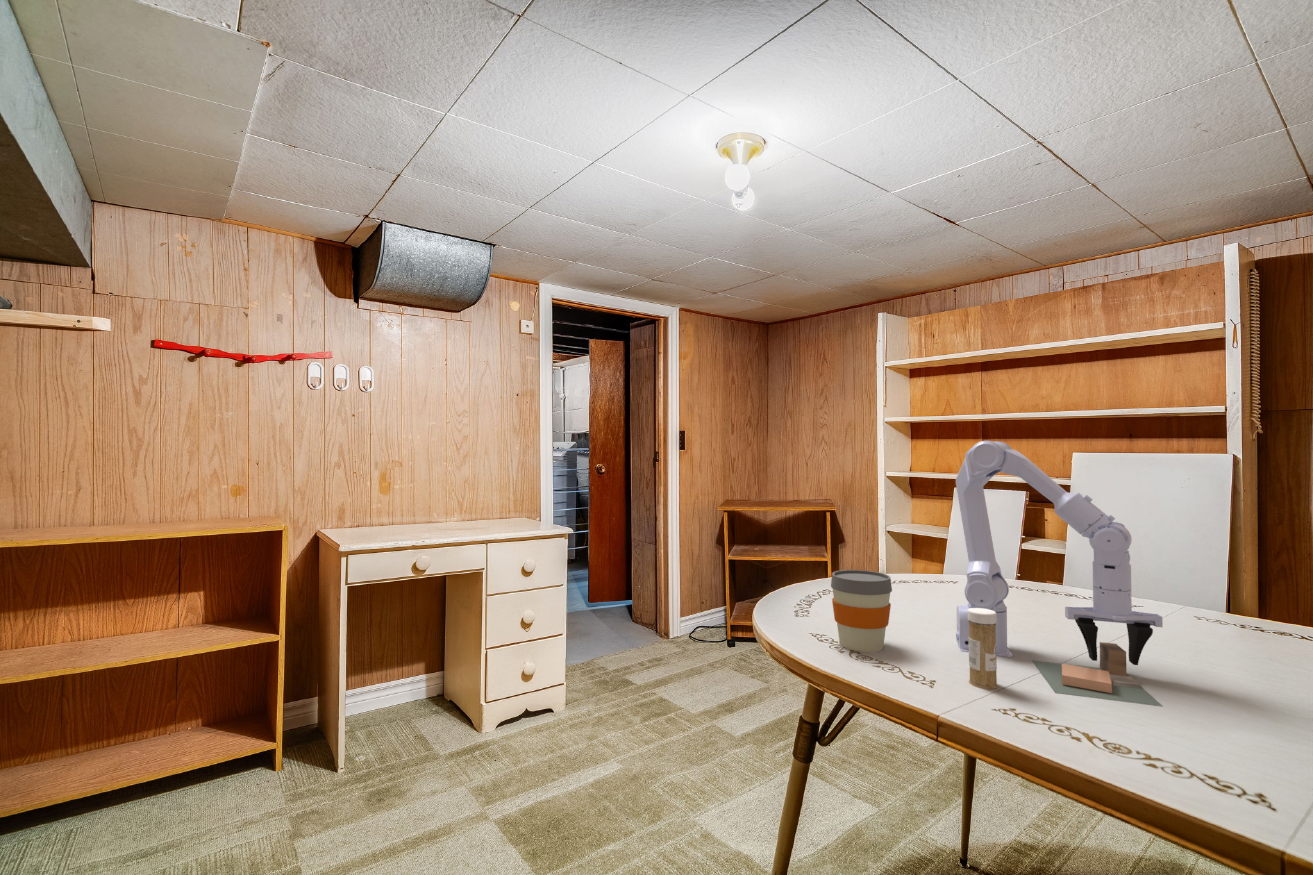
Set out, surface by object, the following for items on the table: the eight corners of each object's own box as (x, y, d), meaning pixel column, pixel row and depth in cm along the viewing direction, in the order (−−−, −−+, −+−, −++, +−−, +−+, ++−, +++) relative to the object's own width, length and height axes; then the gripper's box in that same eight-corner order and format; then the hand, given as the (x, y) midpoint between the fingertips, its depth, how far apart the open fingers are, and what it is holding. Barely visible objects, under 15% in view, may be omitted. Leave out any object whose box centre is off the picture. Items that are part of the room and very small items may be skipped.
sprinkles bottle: (1000, 692, 103) (999, 614, 103) (971, 689, 104) (970, 612, 104) (994, 682, 107) (993, 607, 107) (966, 679, 108) (965, 605, 109)
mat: (1055, 695, 102) (1055, 692, 102) (1031, 662, 117) (1031, 660, 117) (1163, 708, 96) (1163, 706, 96) (1123, 672, 112) (1123, 670, 112)
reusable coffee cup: (892, 658, 120) (891, 583, 120) (828, 650, 124) (827, 578, 125) (892, 640, 131) (892, 572, 132) (833, 633, 136) (833, 567, 136)
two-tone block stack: (1095, 667, 113) (1095, 641, 114) (1120, 670, 112) (1120, 644, 112) (1112, 685, 105) (1112, 656, 105) (1140, 688, 104) (1139, 659, 104)
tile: (1061, 673, 111) (1062, 685, 105) (1061, 663, 111) (1062, 675, 105) (1108, 681, 107) (1112, 694, 101) (1108, 671, 107) (1111, 683, 101)
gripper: (1072, 589, 109) (1073, 663, 109) (1169, 596, 104) (1171, 673, 104) (1061, 581, 116) (1062, 651, 116) (1152, 587, 111) (1153, 660, 111)
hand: (1113, 661), depth 110 cm, fingers open, 6 cm apart
